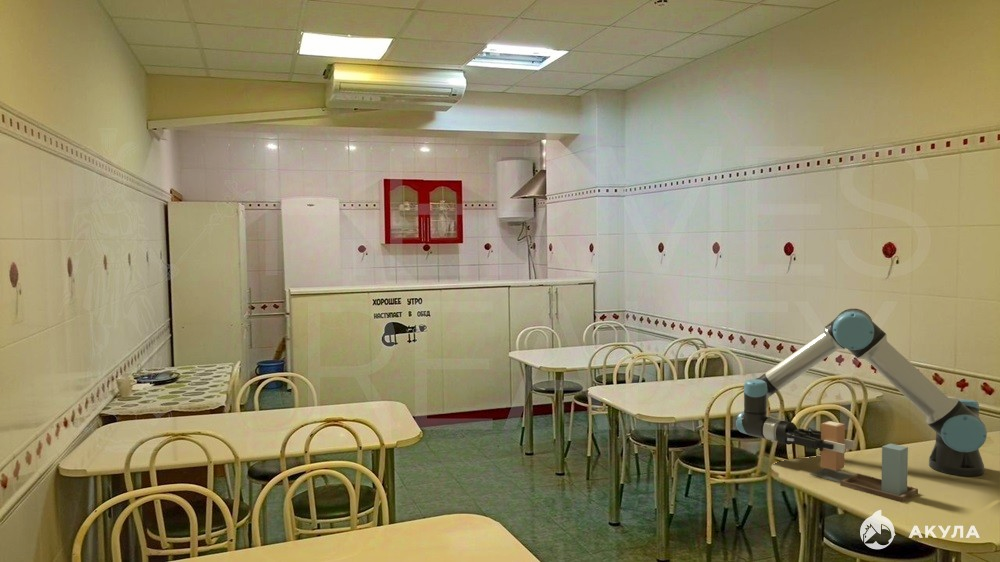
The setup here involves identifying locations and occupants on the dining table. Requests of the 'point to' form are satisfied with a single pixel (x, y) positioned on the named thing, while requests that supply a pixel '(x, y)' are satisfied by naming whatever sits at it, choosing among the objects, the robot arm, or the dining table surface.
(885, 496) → the tray
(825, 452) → the rust box
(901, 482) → the slate box
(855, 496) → the dining table surface
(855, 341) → the robot arm
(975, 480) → the dining table surface
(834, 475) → the mat
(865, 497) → the dining table surface
